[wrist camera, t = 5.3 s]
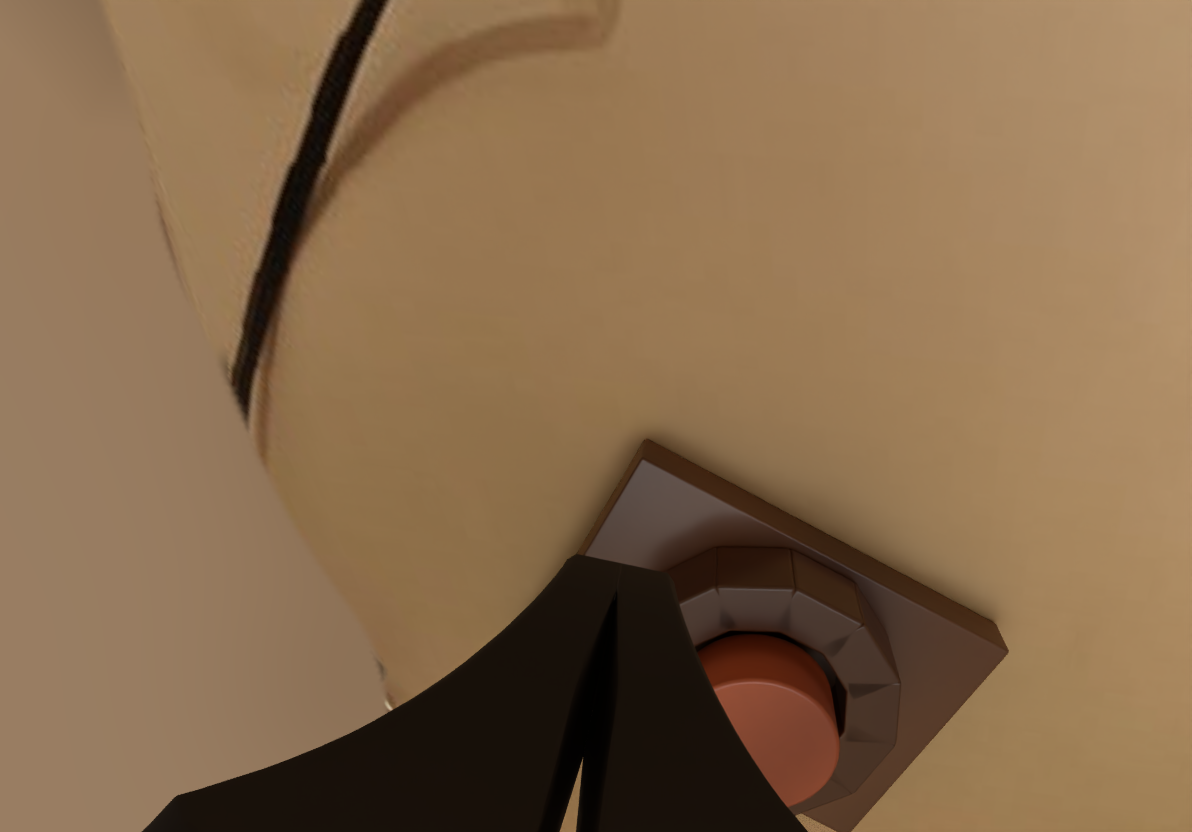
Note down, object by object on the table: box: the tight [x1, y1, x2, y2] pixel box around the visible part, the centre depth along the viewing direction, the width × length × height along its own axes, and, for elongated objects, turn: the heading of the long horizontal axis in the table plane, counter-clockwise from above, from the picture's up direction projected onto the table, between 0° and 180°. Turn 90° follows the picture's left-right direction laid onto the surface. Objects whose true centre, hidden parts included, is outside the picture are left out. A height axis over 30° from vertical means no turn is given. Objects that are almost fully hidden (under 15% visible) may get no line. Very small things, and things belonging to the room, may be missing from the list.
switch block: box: [577, 439, 1009, 832], centre depth 22 cm, size 10×7×3 cm
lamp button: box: [697, 634, 840, 807], centre depth 21 cm, size 4×4×2 cm
